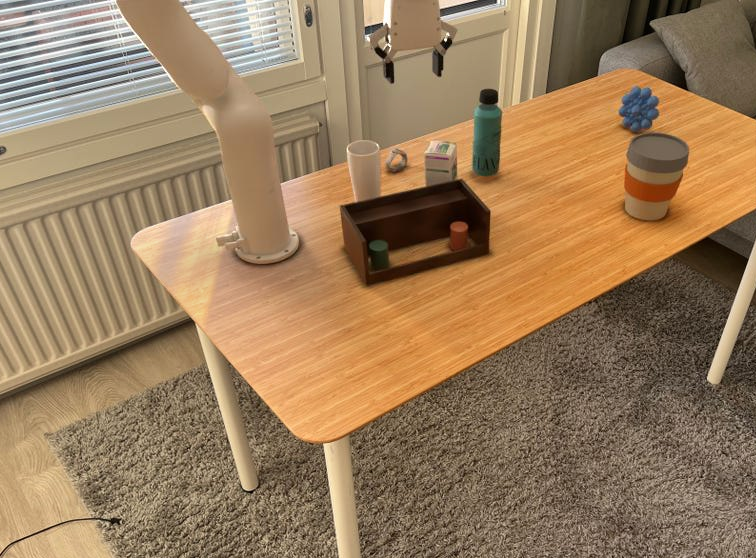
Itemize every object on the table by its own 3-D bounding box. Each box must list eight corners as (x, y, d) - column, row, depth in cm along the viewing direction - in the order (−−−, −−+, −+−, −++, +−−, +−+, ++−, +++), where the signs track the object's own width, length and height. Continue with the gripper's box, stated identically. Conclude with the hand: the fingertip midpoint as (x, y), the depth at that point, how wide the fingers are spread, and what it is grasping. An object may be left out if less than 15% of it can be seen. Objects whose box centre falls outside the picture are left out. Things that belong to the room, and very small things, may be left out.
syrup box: (452, 217, 152) (452, 155, 142) (425, 214, 153) (423, 151, 143) (457, 203, 156) (458, 142, 146) (431, 200, 157) (430, 139, 147)
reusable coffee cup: (685, 209, 156) (702, 145, 145) (654, 232, 149) (670, 167, 139) (637, 188, 162) (650, 126, 151) (605, 209, 155) (616, 145, 145)
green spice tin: (374, 273, 137) (372, 252, 134) (368, 263, 140) (366, 242, 136) (392, 269, 138) (390, 248, 135) (385, 259, 141) (384, 238, 137)
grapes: (663, 135, 181) (673, 88, 173) (646, 143, 178) (656, 96, 169) (627, 119, 187) (635, 74, 179) (611, 126, 184) (618, 81, 176)
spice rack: (366, 285, 134) (361, 241, 128) (344, 248, 143) (339, 205, 136) (488, 253, 143) (490, 210, 136) (461, 220, 151) (461, 178, 144)
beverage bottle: (467, 179, 163) (468, 94, 150) (477, 166, 168) (480, 82, 154) (493, 185, 162) (497, 100, 148) (503, 171, 166) (508, 88, 152)
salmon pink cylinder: (454, 253, 142) (454, 233, 139) (447, 243, 145) (447, 223, 141) (470, 249, 144) (471, 229, 140) (463, 239, 146) (463, 219, 143)
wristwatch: (410, 166, 167) (409, 147, 164) (392, 176, 164) (391, 156, 160) (400, 161, 169) (399, 142, 165) (381, 171, 165) (380, 151, 162)
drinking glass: (390, 208, 154) (386, 144, 144) (374, 223, 150) (369, 158, 139) (363, 200, 156) (357, 137, 146) (347, 215, 152) (339, 151, 141)
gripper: (449, -30, 130) (447, 65, 142) (358, -21, 124) (364, 76, 136) (465, -18, 125) (462, 79, 137) (371, -9, 120) (377, 91, 131)
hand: (413, 77), depth 136 cm, fingers open, 9 cm apart
